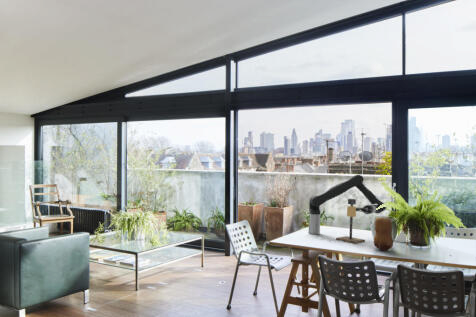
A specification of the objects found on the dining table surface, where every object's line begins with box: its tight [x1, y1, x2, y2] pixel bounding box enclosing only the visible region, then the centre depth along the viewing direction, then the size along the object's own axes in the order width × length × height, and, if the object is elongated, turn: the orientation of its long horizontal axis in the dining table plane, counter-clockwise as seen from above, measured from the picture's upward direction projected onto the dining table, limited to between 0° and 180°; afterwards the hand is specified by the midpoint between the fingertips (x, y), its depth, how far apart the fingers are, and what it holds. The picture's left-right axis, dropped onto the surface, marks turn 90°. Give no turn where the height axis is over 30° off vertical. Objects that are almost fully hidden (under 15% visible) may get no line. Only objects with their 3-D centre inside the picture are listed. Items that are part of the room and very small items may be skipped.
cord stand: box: [335, 198, 366, 244], centre depth 344 cm, size 18×14×34 cm
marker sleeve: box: [346, 205, 357, 218], centre depth 343 cm, size 5×5×8 cm
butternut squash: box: [373, 215, 394, 252], centre depth 311 cm, size 14×13×25 cm
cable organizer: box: [394, 231, 406, 243], centre depth 348 cm, size 15×11×12 cm
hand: (359, 210), depth 351 cm, fingers open, 8 cm apart
